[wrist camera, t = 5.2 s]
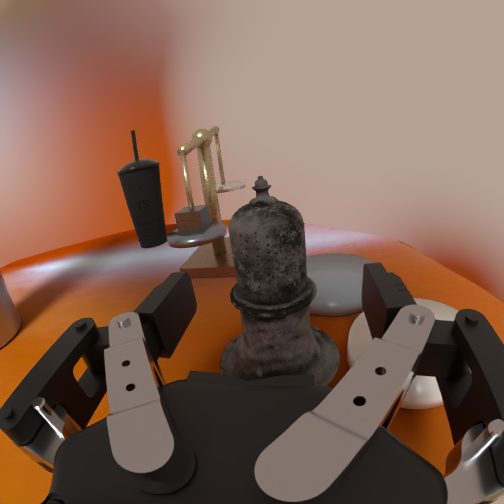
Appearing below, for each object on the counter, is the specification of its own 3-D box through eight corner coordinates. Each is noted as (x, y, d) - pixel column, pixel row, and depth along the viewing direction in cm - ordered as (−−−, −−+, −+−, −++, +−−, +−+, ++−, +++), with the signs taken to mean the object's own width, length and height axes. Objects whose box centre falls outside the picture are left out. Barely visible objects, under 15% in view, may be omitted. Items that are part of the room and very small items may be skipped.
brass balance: (167, 297, 27) (130, 128, 21) (215, 237, 44) (198, 131, 38) (232, 297, 25) (202, 108, 19) (258, 233, 43) (244, 124, 36)
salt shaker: (292, 351, 18) (276, 166, 13) (355, 399, 13) (377, 170, 8) (215, 391, 15) (161, 188, 11) (268, 459, 10) (220, 199, 6)
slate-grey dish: (277, 319, 21) (275, 307, 21) (283, 266, 30) (282, 256, 30) (397, 310, 19) (399, 298, 19) (370, 260, 29) (370, 251, 28)
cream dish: (355, 422, 11) (359, 410, 11) (339, 316, 20) (339, 303, 20) (498, 385, 9) (505, 372, 9) (446, 304, 18) (449, 292, 18)
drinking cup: (131, 244, 47) (110, 138, 40) (169, 232, 50) (151, 130, 43) (136, 254, 41) (111, 131, 34) (179, 241, 44) (158, 122, 37)
